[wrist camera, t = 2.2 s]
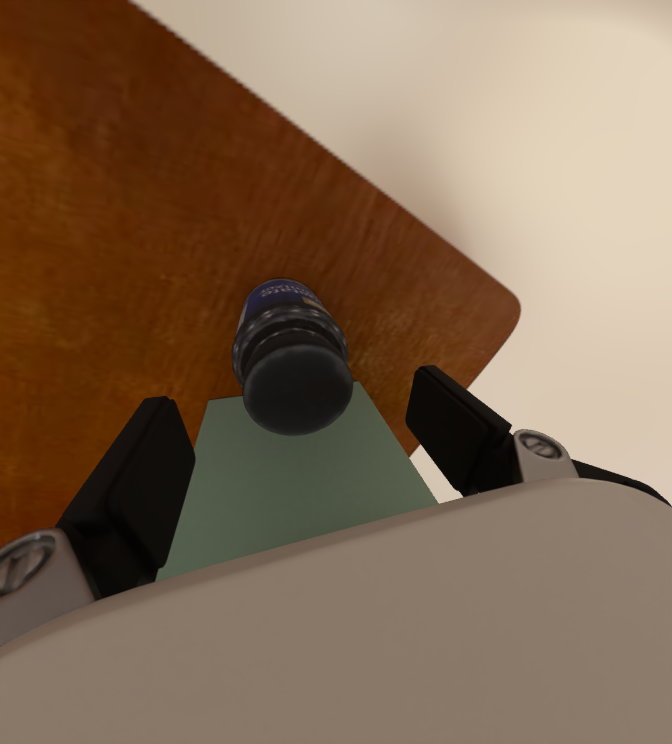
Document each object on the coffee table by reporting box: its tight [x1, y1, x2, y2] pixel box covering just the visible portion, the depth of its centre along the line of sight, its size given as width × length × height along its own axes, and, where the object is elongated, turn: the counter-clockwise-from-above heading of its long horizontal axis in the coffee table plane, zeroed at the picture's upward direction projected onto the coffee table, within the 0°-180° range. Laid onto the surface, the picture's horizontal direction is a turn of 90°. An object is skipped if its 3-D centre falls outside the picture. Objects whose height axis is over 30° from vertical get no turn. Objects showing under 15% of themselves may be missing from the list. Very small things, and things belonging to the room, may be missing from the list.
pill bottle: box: [232, 278, 353, 436], centre depth 15 cm, size 6×6×11 cm
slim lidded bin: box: [155, 381, 439, 582], centre depth 15 cm, size 9×15×24 cm, turn 89°
